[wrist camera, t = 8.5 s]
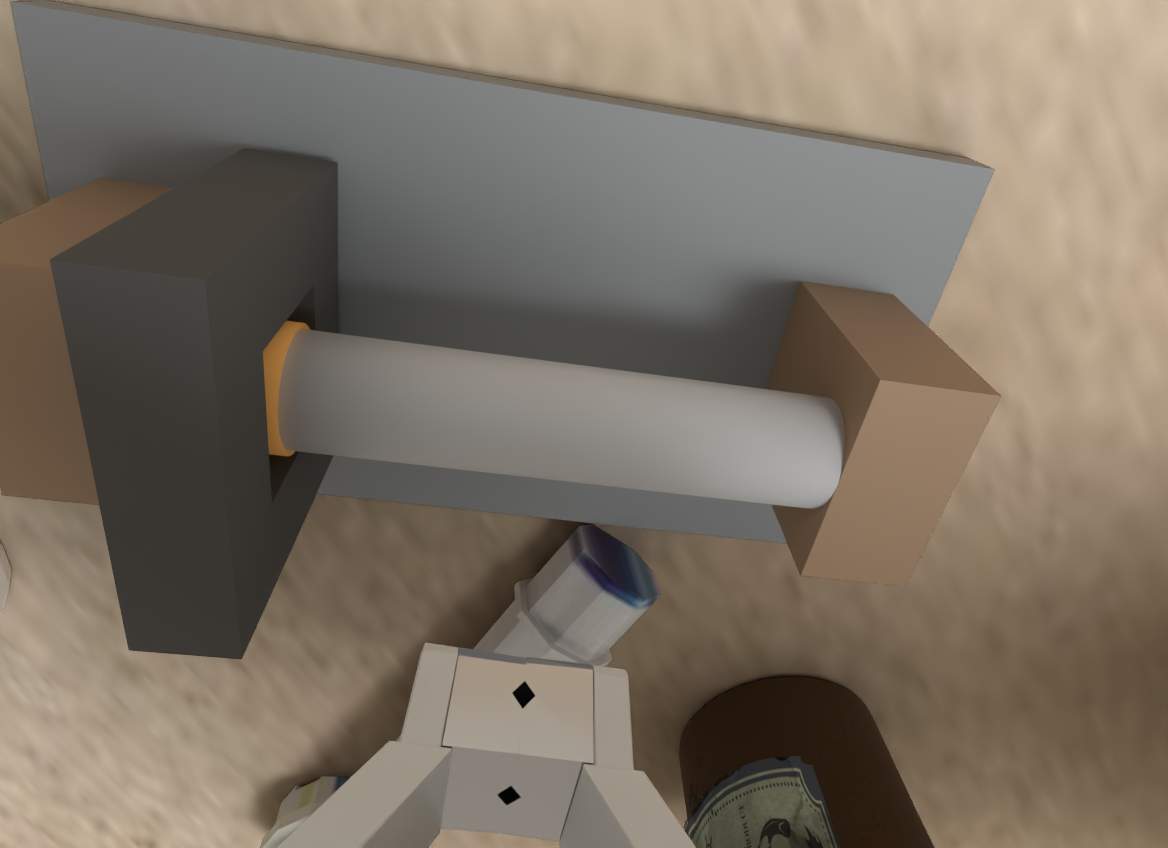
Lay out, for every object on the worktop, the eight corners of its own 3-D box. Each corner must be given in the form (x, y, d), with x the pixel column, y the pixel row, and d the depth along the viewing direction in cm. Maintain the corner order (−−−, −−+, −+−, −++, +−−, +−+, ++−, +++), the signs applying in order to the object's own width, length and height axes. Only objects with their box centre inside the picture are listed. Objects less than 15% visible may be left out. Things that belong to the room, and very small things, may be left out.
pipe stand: (969, 158, 23) (1156, 241, 16) (821, 523, 30) (904, 693, 23) (45, -1, 20) (-234, 14, 13) (123, 447, 27) (-29, 615, 20)
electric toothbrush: (685, 628, 27) (317, 1004, 34) (648, 528, 33) (342, 863, 40) (572, 561, 25) (206, 972, 32) (554, 468, 31) (249, 829, 38)
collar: (337, 162, 20) (205, 280, 12) (338, 444, 25) (242, 659, 17) (244, 148, 20) (49, 259, 12) (262, 435, 24) (128, 650, 17)
